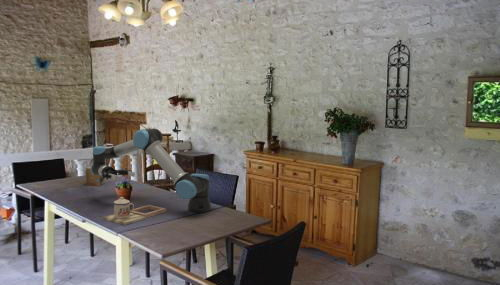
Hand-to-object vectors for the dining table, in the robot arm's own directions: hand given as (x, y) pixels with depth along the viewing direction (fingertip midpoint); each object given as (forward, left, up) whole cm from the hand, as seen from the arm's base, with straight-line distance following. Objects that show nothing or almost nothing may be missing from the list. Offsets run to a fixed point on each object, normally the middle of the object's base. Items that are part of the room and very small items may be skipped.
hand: (124, 175), depth 257 cm
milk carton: (+78, -38, -22) cm, 90 cm away
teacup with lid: (-14, +12, -21) cm, 28 cm away
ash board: (-14, +12, -22) cm, 29 cm away
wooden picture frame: (-14, -6, -22) cm, 27 cm away
